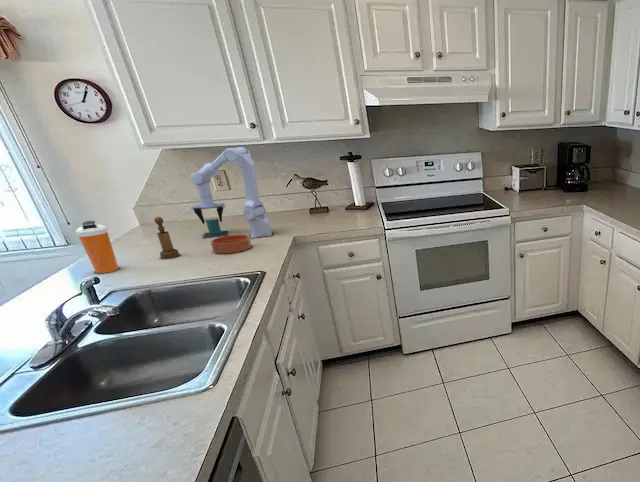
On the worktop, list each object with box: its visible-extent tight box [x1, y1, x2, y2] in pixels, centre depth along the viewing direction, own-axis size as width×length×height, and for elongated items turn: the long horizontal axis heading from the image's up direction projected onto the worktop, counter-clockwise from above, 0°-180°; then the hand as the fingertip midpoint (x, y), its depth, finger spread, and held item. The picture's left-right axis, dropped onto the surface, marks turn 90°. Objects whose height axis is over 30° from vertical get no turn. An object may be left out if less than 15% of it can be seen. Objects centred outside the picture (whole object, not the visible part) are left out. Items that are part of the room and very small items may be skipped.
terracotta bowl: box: [210, 234, 252, 254], centre depth 192 cm, size 15×15×5 cm
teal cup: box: [205, 217, 222, 235], centre depth 215 cm, size 5×5×8 cm
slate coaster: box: [203, 230, 228, 239], centre depth 217 cm, size 10×10×1 cm
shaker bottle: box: [75, 220, 120, 274], centre depth 164 cm, size 9×9×20 cm
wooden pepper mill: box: [153, 216, 180, 260], centre depth 180 cm, size 7×6×18 cm
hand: (212, 222), depth 214 cm, fingers open, 7 cm apart
